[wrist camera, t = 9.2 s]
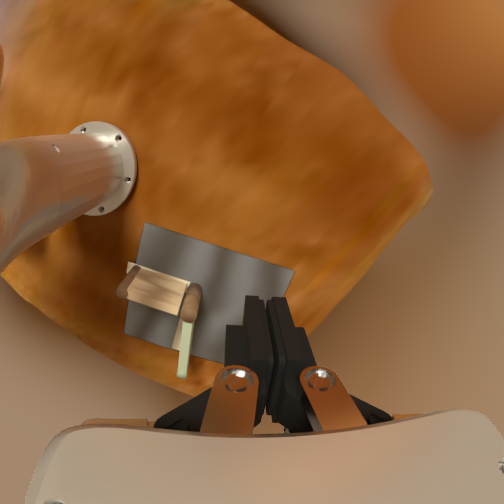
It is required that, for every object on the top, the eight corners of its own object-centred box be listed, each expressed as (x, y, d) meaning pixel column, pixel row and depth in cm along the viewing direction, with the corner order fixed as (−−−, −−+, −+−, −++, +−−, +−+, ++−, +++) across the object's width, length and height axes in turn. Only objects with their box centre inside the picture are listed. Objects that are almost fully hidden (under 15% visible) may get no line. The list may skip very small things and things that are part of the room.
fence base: (118, 329, 43) (104, 357, 37) (138, 219, 37) (119, 237, 30) (247, 367, 47) (248, 398, 40) (294, 270, 41) (304, 295, 34)
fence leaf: (188, 297, 41) (181, 323, 35) (198, 299, 41) (192, 325, 35) (182, 350, 44) (176, 378, 38) (191, 352, 44) (186, 379, 38)
